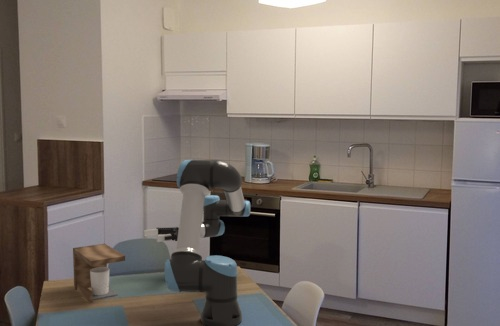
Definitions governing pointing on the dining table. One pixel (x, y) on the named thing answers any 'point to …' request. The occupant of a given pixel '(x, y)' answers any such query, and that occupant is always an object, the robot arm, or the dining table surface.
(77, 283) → the walnut shelf
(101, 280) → the white cup
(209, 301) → the robot arm
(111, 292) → the felt pad
